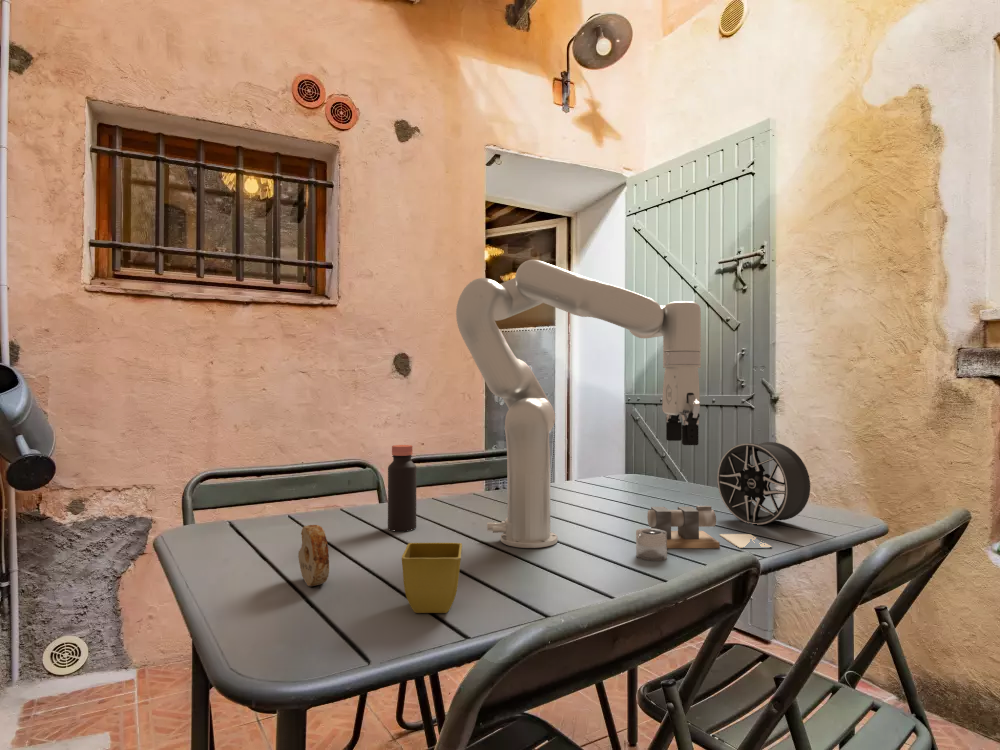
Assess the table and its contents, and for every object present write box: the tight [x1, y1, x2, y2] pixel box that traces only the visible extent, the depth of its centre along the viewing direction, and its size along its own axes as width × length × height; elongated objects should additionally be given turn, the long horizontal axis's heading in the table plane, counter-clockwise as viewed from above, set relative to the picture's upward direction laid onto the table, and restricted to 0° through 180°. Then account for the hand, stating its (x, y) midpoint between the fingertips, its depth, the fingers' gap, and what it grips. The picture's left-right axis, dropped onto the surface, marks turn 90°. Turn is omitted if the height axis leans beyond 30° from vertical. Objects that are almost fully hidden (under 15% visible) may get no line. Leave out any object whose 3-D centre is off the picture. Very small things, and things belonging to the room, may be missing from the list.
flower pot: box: [401, 542, 463, 614], centre depth 91 cm, size 9×9×9 cm
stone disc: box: [297, 524, 330, 587], centre depth 103 cm, size 10×4×10 cm, turn 30°
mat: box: [719, 533, 773, 549], centre depth 129 cm, size 7×11×1 cm, turn 0°
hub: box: [635, 527, 668, 562], centre depth 118 cm, size 6×6×5 cm
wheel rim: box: [716, 441, 811, 526], centre depth 148 cm, size 20×9×20 cm, turn 30°
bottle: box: [387, 444, 417, 532], centre depth 142 cm, size 7×7×20 cm
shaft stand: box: [647, 505, 721, 549], centre depth 129 cm, size 14×10×8 cm
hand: (681, 442), depth 123 cm, fingers open, 9 cm apart
